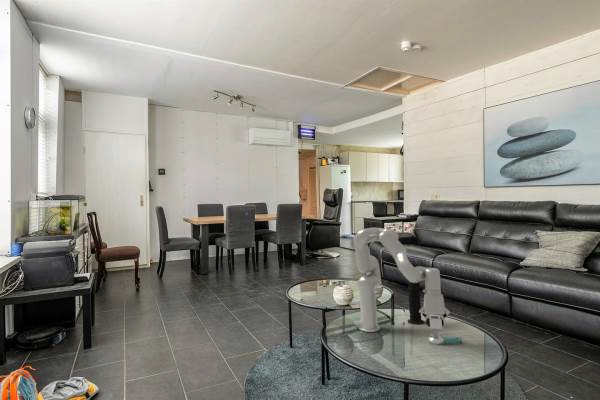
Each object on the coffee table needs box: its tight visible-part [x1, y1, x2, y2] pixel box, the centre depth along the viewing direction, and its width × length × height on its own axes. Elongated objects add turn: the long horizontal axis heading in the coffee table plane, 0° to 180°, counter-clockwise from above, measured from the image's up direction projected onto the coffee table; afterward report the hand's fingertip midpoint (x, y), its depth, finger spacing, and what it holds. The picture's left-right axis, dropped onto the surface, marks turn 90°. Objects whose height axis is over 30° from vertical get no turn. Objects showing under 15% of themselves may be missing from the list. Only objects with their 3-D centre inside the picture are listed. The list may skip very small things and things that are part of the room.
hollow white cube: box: [429, 314, 443, 330], centre depth 173 cm, size 6×6×5 cm
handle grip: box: [407, 279, 425, 326], centre depth 204 cm, size 10×26×10 cm
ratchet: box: [427, 329, 463, 346], centre depth 172 cm, size 16×8×7 cm, turn 77°
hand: (435, 325), depth 173 cm, fingers closed on hollow white cube, 5 cm apart
